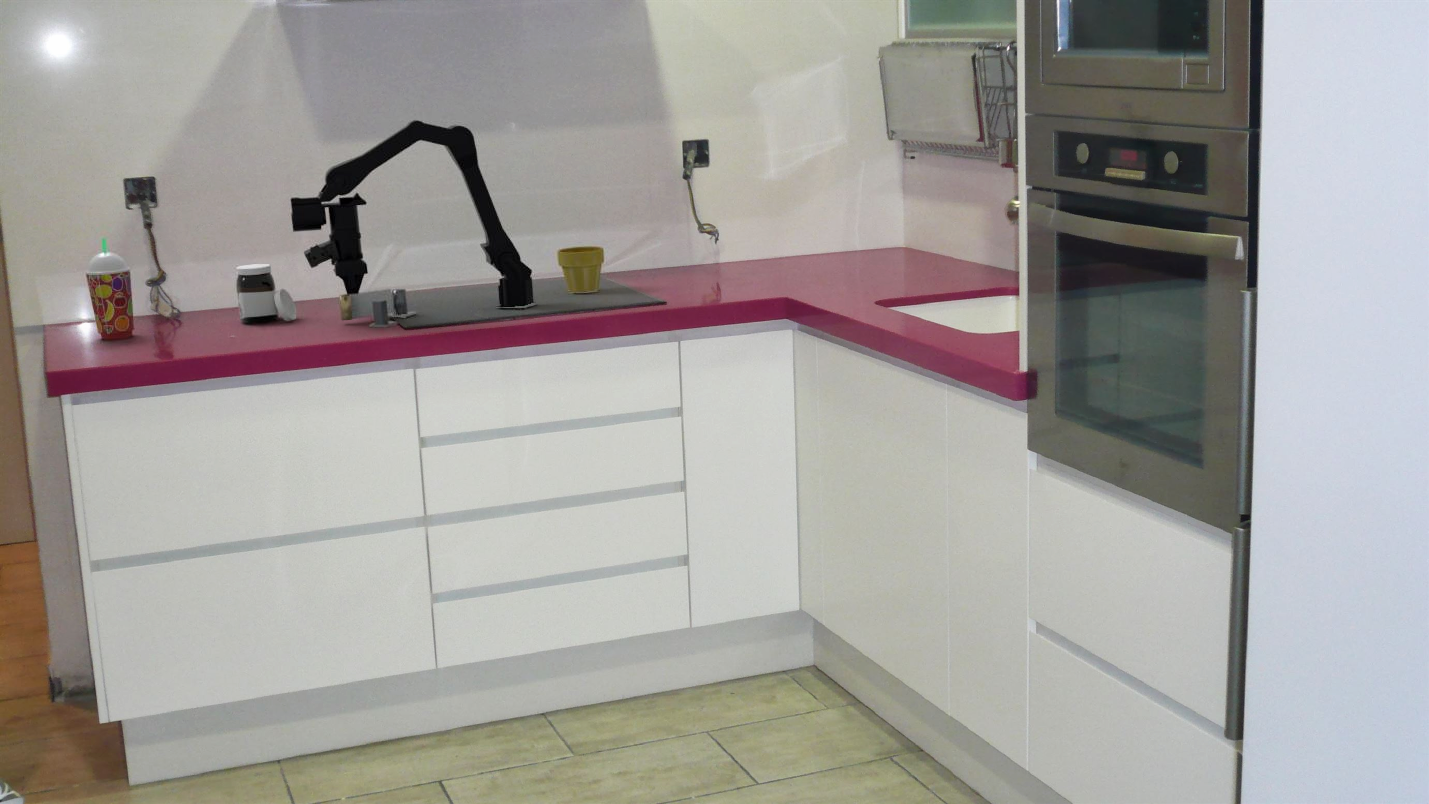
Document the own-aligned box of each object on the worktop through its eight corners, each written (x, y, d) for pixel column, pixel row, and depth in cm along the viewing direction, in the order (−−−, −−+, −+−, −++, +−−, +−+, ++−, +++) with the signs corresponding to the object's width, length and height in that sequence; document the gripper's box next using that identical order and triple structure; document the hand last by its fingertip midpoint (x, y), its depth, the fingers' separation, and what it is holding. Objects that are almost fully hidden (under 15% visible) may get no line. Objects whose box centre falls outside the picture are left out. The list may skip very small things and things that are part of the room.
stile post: (397, 324, 287) (395, 299, 286) (386, 327, 283) (384, 303, 282) (381, 323, 288) (378, 299, 287) (369, 327, 285) (367, 302, 284)
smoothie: (102, 334, 288) (88, 236, 284) (144, 332, 289) (131, 234, 284) (88, 342, 280) (74, 241, 275) (131, 340, 281) (118, 239, 276)
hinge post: (417, 314, 298) (415, 288, 296) (404, 318, 293) (402, 292, 292) (397, 313, 300) (395, 287, 298) (384, 317, 295) (381, 291, 294)
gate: (389, 311, 296) (387, 288, 295) (394, 313, 294) (392, 289, 293) (339, 319, 289) (337, 295, 288) (344, 320, 287) (341, 296, 286)
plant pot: (551, 295, 315) (548, 251, 313) (573, 288, 325) (570, 245, 322) (593, 296, 312) (590, 252, 309) (613, 289, 321) (611, 246, 319)
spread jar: (238, 319, 300) (231, 265, 298) (293, 314, 304) (287, 260, 302) (243, 328, 289) (237, 272, 287) (300, 322, 294) (294, 266, 291)
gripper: (302, 225, 294) (310, 299, 298) (305, 237, 277) (314, 315, 281) (357, 221, 297) (364, 294, 301) (363, 232, 280) (371, 310, 284)
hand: (352, 303), depth 292 cm, fingers closed
